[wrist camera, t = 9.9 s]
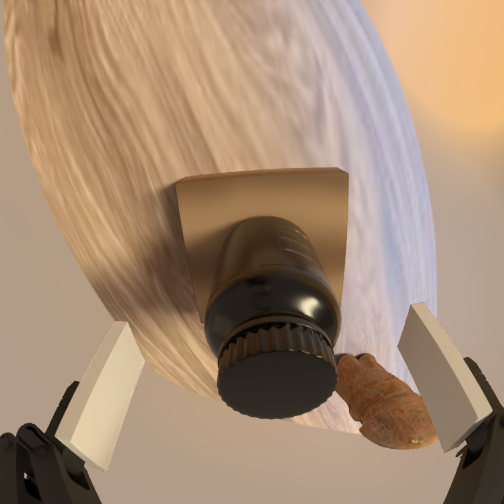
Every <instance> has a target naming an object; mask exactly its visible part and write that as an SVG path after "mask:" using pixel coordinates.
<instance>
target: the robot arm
mask: <svg viewBox="0 0 504 504" xmlns="http://www.w3.org/2000/svg"><path fill="white" fill-rule="evenodd" d="M397 347H398V349H399V351H400V353H401V355H402V357H403V359H404V361H405V363H406V365H407V367H408V369H409V371H410V373H411V375H412V377H413V379H414V382H415V384H416V386H417V388H418V390H419V392H420V395H421V397H422V399H423V401H424V404H425V406H426V408H427V411H428V413H429V416H430V418H431V420H432V423H433V425H434V428H435V430H436V433H437V435H438V438H439V440H440V443H441V446H442V448H443V451H444V453H445V452H448V451H450V450H452V449H454V448H456V447H458V446H459V445H460V444H461V443H462V442H463V441H464V440H466V442H467V445H466V446H464V447H463V448H462V449H461V450H460V451H459V452H458V453H457V455H456V457H458V456H459V455H460V454H462V453H463V454H462V456H461V457H460V458H461V460H460V463H459V466H458V468H457V472H456V474H455V477H454V479H453V482H452V484H451V487H450V489H449V491H448V494H447V497H446V499H445V501H444V503H443V504H504V408H503V407H502V405H501V404H500V402H499V400H498V398H497V397H496V395H495V393H494V392H493V390H492V388H491V386H490V385H489V383H488V381H486V378H485V376H484V375H483V374H482V372H481V370H480V368H479V367H478V365H477V364H476V363H475V362H474V361H473V360H472V359H470V358H469V357H466V358H462V357H461V355H460V353H459V352H458V350H457V349H456V347H455V346H454V344H453V343H452V342H451V340H450V338H449V337H448V335H447V334H446V332H445V331H444V330H443V328H442V327H441V325H440V324H439V323H438V321H437V320H436V318H435V317H434V316H433V314H432V313H431V311H430V310H429V309H428V307H427V306H426V305H425V303H424V302H422V303H416V304H411V305H410V309H409V312H408V316H407V319H406V322H405V326H404V329H403V332H402V335H401V338H400V341H399V344H398V346H397ZM144 363H145V361H144V359H143V356H142V354H141V352H140V350H139V348H138V345H137V343H136V341H135V339H134V336H133V334H132V332H131V329H130V327H129V324H128V322H123V321H114V322H113V324H112V325H111V327H110V329H109V331H108V332H107V334H106V336H105V338H104V339H103V341H102V343H101V345H100V346H99V348H98V350H97V352H96V353H95V355H94V357H93V359H92V361H91V362H90V364H89V366H88V368H87V370H86V372H85V374H84V376H83V378H82V379H81V381H80V382H78V381H74V382H73V383H72V384H71V385H70V386H69V387H68V388H67V390H66V392H65V394H64V395H63V397H62V398H63V399H62V400H61V401H60V403H59V407H57V410H56V411H55V413H54V416H53V418H52V420H51V422H50V424H49V426H48V428H47V430H46V432H45V434H44V433H43V432H42V431H41V430H40V429H39V428H38V427H37V426H36V425H35V424H32V423H26V424H24V425H23V426H21V427H20V428H19V430H18V432H17V434H16V437H15V436H14V435H13V434H11V433H4V434H2V435H1V436H0V504H102V503H101V501H100V499H99V497H98V495H97V493H96V491H95V488H94V486H93V484H92V482H91V479H90V477H89V475H88V473H87V470H86V469H85V467H84V464H85V462H86V463H87V464H88V465H90V466H91V467H93V468H96V469H99V470H102V471H105V472H107V471H108V468H109V465H110V461H111V458H112V455H113V451H114V448H115V445H116V441H117V439H118V435H119V433H120V430H121V427H122V424H123V421H124V418H125V415H126V412H127V409H128V406H129V403H130V401H131V398H132V395H133V392H134V389H135V387H136V384H137V381H138V379H139V376H140V373H141V371H142V368H143V365H144ZM24 473H26V474H27V478H26V479H25V478H24Z"/></svg>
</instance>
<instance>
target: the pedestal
mask: <svg viewBox="0 0 504 504" xmlns="http://www.w3.org/2000/svg"><path fill="white" fill-rule="evenodd" d="M175 186H176V193H177V199H178V206H179V212H180V219H181V225H182V231H183V236H184V242H185V248H186V253H187V259H188V264H189V269H190V274H191V279H192V284H193V289H194V294H195V298H196V303H197V307H198V312H199V316H200V321H201V323H204V318H205V312H206V307H207V303H208V299H209V295H210V291H211V287H212V283H213V279H214V275H215V271H216V267H217V263H218V259H219V255H220V252H221V249H222V246H223V244H224V241H225V240H226V238H227V236H228V235H229V234H230V232H231V231H232V230H233V229H234V228H235V227H237V226H238V225H239V224H241V223H243V222H244V221H247V220H249V219H252V218H255V217H260V216H276V217H281V218H284V219H287V220H289V221H291V222H293V223H294V224H296V225H297V226H298V227H299V228H301V229H302V230H303V232H304V233H305V234H306V235H307V237H308V238H309V240H310V242H311V244H312V246H313V248H314V250H315V252H316V254H317V256H318V258H319V260H320V263H321V265H322V267H323V269H324V271H325V273H326V275H327V278H328V280H329V282H330V284H331V286H332V289H333V291H334V293H335V295H336V298H337V301H338V303H339V306H340V307H341V298H342V289H343V279H344V268H345V255H346V241H347V222H348V187H349V173H347V172H345V171H343V170H341V169H339V168H337V167H334V168H291V169H270V170H254V171H241V172H229V173H218V174H208V175H199V176H190V177H185V178H184V179H182V180H181V181H179V182H178V183H176V184H175Z"/></svg>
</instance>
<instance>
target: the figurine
mask: <svg viewBox="0 0 504 504" xmlns="http://www.w3.org/2000/svg"><path fill="white" fill-rule="evenodd" d="M337 370H338V383H337V385H336V389H335V390H334V391H336V392H337V393H338V394H339V395H340V397H341V398H342V399H343V400H344V401H345V402H346V403H347V405H348V407H349V413H350V415H351V417H352V418H353V420H355V421H360V422H361V424H362V427H361V428H360V429H359V431H360V432H361V433H362V435H363V436H364V437H366V438H367V439H368V440H370V441H372V442H373V443H375V444H377V445H379V446H382V447H386V448H391V449H418V448H422V447H425V446H428V445H430V444H431V443H433V442H434V441H435V440H436V439H437V438H438V435H437V433H436V430H435V428H434V425H433V423H432V420H431V418H430V416H429V413H428V411H427V408H426V406H425V404H424V401H423V399H422V397H421V396H420V395H418V394H416V393H414V392H413V391H412V390H411V388H410V387H409V386H408V385H407V384H406V383H405V382H403V381H401V380H400V379H398V378H397V377H395V376H394V375H392V374H391V373H389V372H387V371H386V370H385V369H384V368H383V367H382V366H381V365H380V364H378V363H377V362H376V359H375V357H374V356H373V355H371V354H364V355H362V356H361V357H360V358H359V359H358V360H357V359H356V358H355V357H354V356H353V355H344V356H343V357H341V359H340V361H339V363H338V365H337Z"/></svg>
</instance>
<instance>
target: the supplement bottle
mask: <svg viewBox="0 0 504 504" xmlns="http://www.w3.org/2000/svg"><path fill="white" fill-rule="evenodd" d="M341 321H342V318H341V310H340V306H339V303H338V301H337V298H336V295H335V293H334V291H333V289H332V286H331V284H330V282H329V280H328V278H327V275H326V273H325V271H324V269H323V267H322V265H321V263H320V260H319V258H318V256H317V254H316V252H315V250H314V248H313V246H312V244H311V242H310V240H309V238H308V237H307V235H306V234H305V233H304V232H303V230H302V229H301V228H299V227H298V226H297V225H296V224H294V223H293V222H291V221H289V220H287V219H284V218H281V217H276V216H260V217H255V218H252V219H249V220H247V221H244V222H243V223H241V224H239V225H238V226H237V227H235V228H234V229H233V230H232V231H231V232H230V234H229V235H228V236H227V238H226V240H225V241H224V244H223V246H222V249H221V252H220V255H219V259H218V263H217V267H216V271H215V275H214V279H213V283H212V287H211V291H210V295H209V299H208V303H207V307H206V312H205V318H204V332H205V337H206V340H207V343H208V345H209V347H210V349H211V351H212V352H213V354H214V355H215V356H216V358H217V359H218V368H219V370H218V378H217V387H218V393H219V395H220V396H221V397H222V400H223V401H224V402H226V404H227V406H229V407H231V408H233V410H234V411H238V412H240V413H241V414H243V415H248V416H250V417H256V418H260V419H283V418H291V417H294V416H298V415H302V414H304V413H307V412H310V411H312V410H313V409H315V408H317V407H319V406H320V405H321V404H322V403H324V402H326V401H327V399H328V398H329V397H330V396H332V392H333V391H334V390H335V389H336V385H337V383H338V370H337V366H336V363H335V360H334V352H333V348H334V346H335V344H336V342H337V340H338V337H339V334H340V330H341Z"/></svg>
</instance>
